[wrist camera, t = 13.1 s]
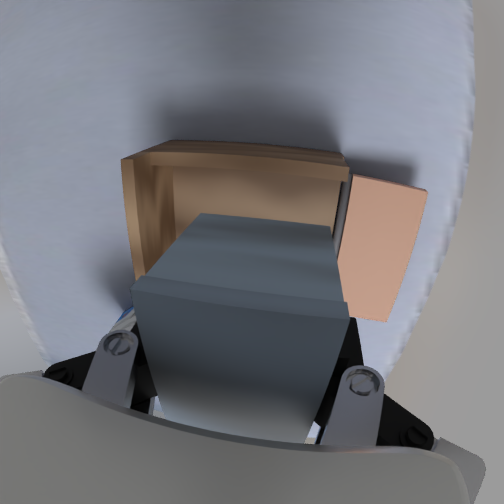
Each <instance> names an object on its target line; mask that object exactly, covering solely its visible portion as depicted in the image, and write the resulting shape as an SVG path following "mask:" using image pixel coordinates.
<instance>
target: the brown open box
mask: <svg viewBox="0 0 504 504" xmlns="http://www.w3.org/2000/svg"><path fill="white" fill-rule="evenodd" d="M121 171H122V183H123V194H124V203H125V212H126V220H127V228H128V235H129V242H130V249H131V255H132V261H133V267H134V273H135V279H136V281H137V280H138V278H139V277H140V276H141V275H144V276H145V275H146V274H147V272H148V271H149V270H150V269H151V268H152V267H153V265H154V264H155V263H156V262H157V261H158V260H159V259H160V257H161V256H162V255H163V254H164V253H165V252H166V251H167V249H168V248H169V247H170V246H171V245H172V244H173V243H174V242H175V240H176V239H177V238H178V237H179V236H180V235H181V234H182V233H183V232H184V230H185V229H186V228H187V227H188V226H189V225H190V224H191V223H192V222H193V221H194V220H195V218H196V217H197V216H198V215H199V214H200V213H207V214H219V215H230V216H240V217H251V218H261V219H271V220H280V221H289V222H298V223H307V224H316V225H324V226H330V228H331V233H332V232H333V227H334V221H335V215H336V209H337V203H338V197H339V191H340V184H341V181H344V182H347V181H348V174H349V166H348V165H347V163H346V162H345V161H344V156H343V155H342V154H341V153H337V152H330V151H323V150H316V149H308V148H299V147H290V146H280V145H270V144H257V143H243V142H226V141H198V140H170V141H167V142H165V143H162V144H159V145H156V146H154V147H151V148H148V149H146V150H143V151H141V152H138V153H136V154H133V155H131V156H128V157H126V158H123V159H121Z"/></svg>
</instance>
